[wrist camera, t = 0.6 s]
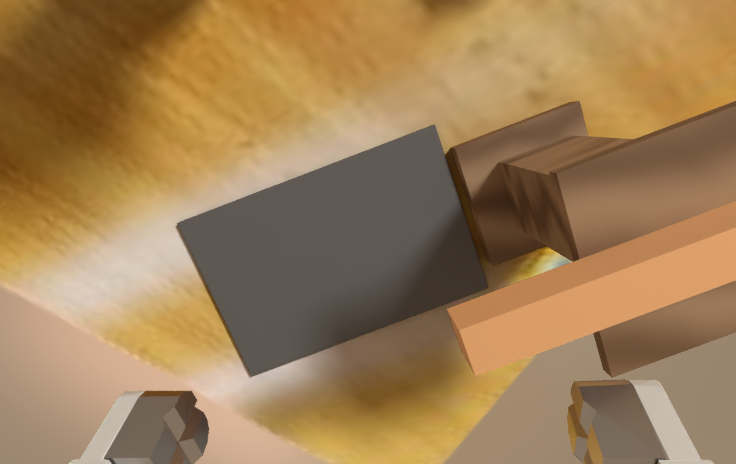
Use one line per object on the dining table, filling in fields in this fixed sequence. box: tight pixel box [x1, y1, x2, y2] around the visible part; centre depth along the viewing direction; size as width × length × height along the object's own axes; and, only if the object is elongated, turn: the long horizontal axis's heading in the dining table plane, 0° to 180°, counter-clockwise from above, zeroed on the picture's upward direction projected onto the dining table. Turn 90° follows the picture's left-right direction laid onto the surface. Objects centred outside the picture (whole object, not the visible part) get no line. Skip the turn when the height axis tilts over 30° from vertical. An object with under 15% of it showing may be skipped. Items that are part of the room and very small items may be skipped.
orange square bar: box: [447, 201, 736, 376], centre depth 27 cm, size 3×20×3 cm, turn 111°
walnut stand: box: [451, 101, 736, 377], centre depth 41 cm, size 14×14×26 cm
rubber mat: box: [177, 125, 488, 376], centre depth 54 cm, size 20×30×1 cm, turn 111°
